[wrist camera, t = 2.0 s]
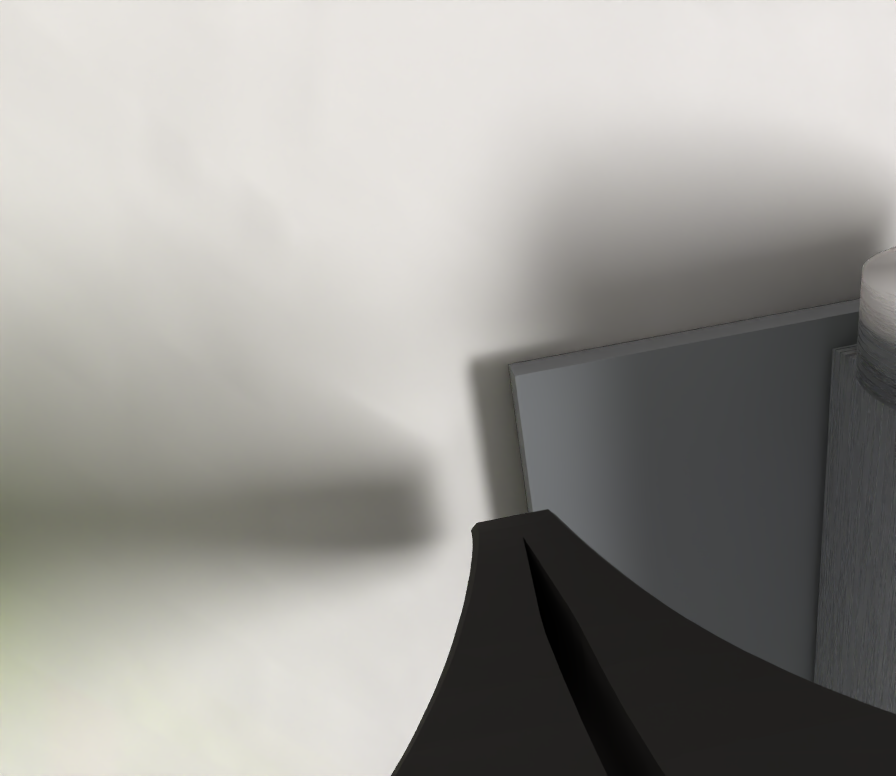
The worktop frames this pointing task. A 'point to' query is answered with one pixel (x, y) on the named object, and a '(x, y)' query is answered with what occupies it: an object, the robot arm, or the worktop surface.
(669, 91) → the worktop surface
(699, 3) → the worktop surface
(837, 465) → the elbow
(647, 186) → the worktop surface
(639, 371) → the duct board
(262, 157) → the worktop surface
